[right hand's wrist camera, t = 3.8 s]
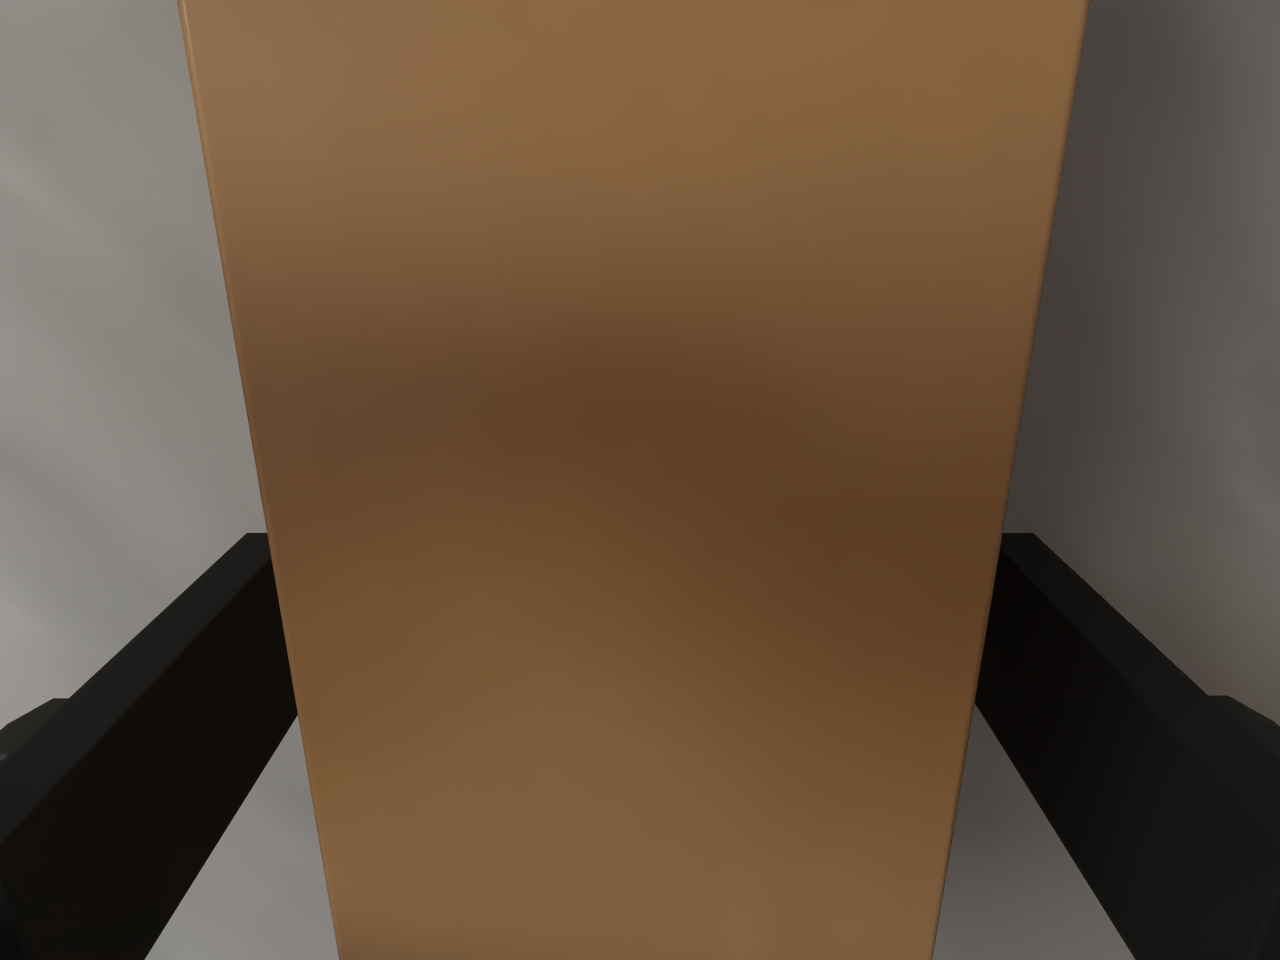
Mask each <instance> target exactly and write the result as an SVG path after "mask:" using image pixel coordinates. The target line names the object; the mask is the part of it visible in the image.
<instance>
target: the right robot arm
mask: <svg viewBox="0 0 1280 960" xmlns="http://www.w3.org/2000/svg"><path fill="white" fill-rule="evenodd" d="M975 704H976V706H977V707H978V709H979V710H980V712H981V714H982V715H983V717H984V718H985V720H986V722H987V723H988V725H989V726H990V728H991V729H992V731H993V733H994V734H995V736H996V737H997V739H998V741H999V742H1000V744H1001V745H1002V747H1003V749H1004V750H1005V752H1006V753H1007V755H1008V757H1009V758H1010V760H1011V761H1012V763H1013V765H1014V766H1015V768H1016V769H1017V771H1018V773H1019V774H1020V776H1021V777H1022V779H1023V781H1024V782H1025V784H1026V785H1027V787H1028V789H1029V790H1030V792H1031V793H1032V795H1033V797H1034V798H1035V800H1036V801H1037V803H1038V805H1039V806H1040V808H1041V809H1042V811H1043V813H1044V814H1045V816H1046V817H1047V819H1048V821H1049V822H1050V824H1051V825H1052V827H1053V829H1054V830H1055V832H1056V833H1057V835H1058V837H1059V838H1060V840H1061V841H1062V843H1063V845H1064V846H1065V848H1066V849H1067V851H1068V852H1069V854H1070V856H1071V857H1072V859H1073V860H1074V862H1075V864H1076V865H1077V867H1078V868H1079V870H1080V872H1081V873H1082V875H1083V876H1084V878H1085V880H1086V881H1087V883H1088V884H1089V886H1090V888H1091V889H1092V891H1093V892H1094V894H1095V896H1096V897H1097V899H1098V900H1099V902H1100V904H1101V905H1102V907H1103V908H1104V910H1105V912H1106V913H1107V915H1108V916H1109V918H1110V920H1111V921H1112V923H1113V924H1114V926H1115V928H1116V929H1117V931H1118V932H1119V934H1120V936H1121V937H1122V939H1123V940H1124V942H1125V944H1126V945H1127V947H1128V948H1129V950H1130V952H1131V953H1132V955H1133V956H1134V958H1135V960H1280V726H1278V725H1277V724H1276V723H1275V722H1274V721H1272V720H1270V719H1268V718H1267V717H1265V716H1263V715H1261V714H1260V713H1258V712H1256V711H1254V710H1252V709H1251V708H1249V707H1247V706H1245V705H1243V704H1242V703H1240V702H1238V701H1236V700H1234V699H1233V698H1231V697H1229V696H1208V695H1207V694H1206V693H1205V692H1204V691H1203V690H1202V689H1200V688H1199V687H1198V686H1197V685H1196V684H1195V683H1194V682H1193V681H1192V680H1191V679H1190V678H1189V677H1188V676H1186V675H1185V674H1184V673H1183V672H1182V671H1181V670H1180V669H1179V668H1178V667H1177V666H1176V665H1175V664H1174V663H1172V662H1171V661H1170V660H1169V659H1168V658H1167V657H1166V656H1165V655H1164V654H1163V653H1162V652H1161V651H1160V650H1158V649H1157V648H1156V647H1155V646H1154V645H1153V644H1152V643H1151V642H1150V641H1149V640H1148V639H1147V638H1146V637H1144V636H1143V635H1142V634H1141V633H1140V632H1139V631H1138V630H1137V629H1136V628H1135V627H1134V626H1133V625H1132V624H1130V623H1129V622H1128V621H1127V620H1126V619H1125V618H1124V617H1123V616H1122V615H1121V614H1120V613H1119V612H1118V611H1116V610H1115V609H1114V608H1113V607H1112V606H1111V605H1110V604H1109V603H1108V602H1107V601H1106V600H1105V599H1104V598H1102V597H1101V596H1100V595H1099V594H1098V593H1097V592H1096V591H1095V590H1094V589H1093V588H1092V587H1091V586H1090V585H1088V584H1087V583H1086V582H1085V581H1084V580H1083V579H1082V578H1081V577H1080V576H1079V575H1078V574H1077V573H1076V572H1074V571H1073V570H1072V569H1071V568H1070V567H1069V566H1068V565H1067V564H1066V563H1065V562H1064V561H1063V560H1062V559H1060V558H1059V557H1058V556H1057V555H1056V554H1055V553H1054V552H1053V551H1052V550H1051V549H1050V548H1049V547H1048V546H1046V545H1045V544H1044V543H1043V542H1042V541H1041V540H1040V539H1039V538H1038V537H1037V536H1036V535H1035V534H1034V533H1002V538H1001V544H1000V550H999V556H998V563H997V569H996V575H995V581H994V587H993V593H992V599H991V605H990V611H989V617H988V623H987V629H986V636H985V642H984V648H983V654H982V660H981V666H980V672H979V678H978V684H977V690H976V696H975ZM297 715H298V712H297V706H296V700H295V694H294V688H293V682H292V676H291V670H290V665H289V659H288V653H287V647H286V641H285V635H284V629H283V623H282V617H281V611H280V605H279V599H278V594H277V588H276V582H275V576H274V570H273V564H272V558H271V552H270V546H269V540H268V534H267V533H246V534H245V535H244V536H243V537H242V538H241V539H240V540H239V541H238V542H237V543H236V544H235V545H233V546H232V547H231V548H230V549H229V550H228V551H227V552H226V553H225V554H224V555H223V556H222V557H221V558H219V559H218V560H217V561H216V562H215V563H214V564H213V565H212V566H211V567H210V568H209V569H208V570H207V571H206V572H204V573H203V574H202V575H201V576H200V577H199V578H198V579H197V580H196V581H195V582H194V583H193V584H192V585H190V586H189V587H188V588H187V589H186V590H185V591H184V592H183V593H182V594H181V595H180V596H179V597H178V598H176V599H175V600H174V601H173V602H172V603H171V604H170V605H169V606H168V607H167V608H166V609H165V610H164V611H162V612H161V613H160V614H159V615H158V616H157V617H156V618H155V619H154V620H153V621H152V622H151V623H150V624H148V625H147V626H146V627H145V628H144V629H143V630H142V631H141V632H140V633H139V634H138V635H137V636H136V637H134V638H133V639H132V640H131V641H130V642H129V643H128V644H127V645H126V646H125V647H124V648H123V649H122V650H120V651H119V652H118V653H117V654H116V655H115V656H114V657H113V658H112V659H111V660H110V661H109V662H108V663H106V664H105V665H104V666H103V667H102V668H101V669H100V670H99V671H98V672H97V673H96V674H95V675H94V676H92V677H91V678H90V679H89V680H88V681H87V682H86V683H85V684H84V685H83V686H82V687H81V688H80V689H78V690H77V691H76V692H75V693H74V694H73V695H72V696H71V697H70V698H53V699H51V700H50V701H48V702H46V703H44V704H43V705H41V706H39V707H37V708H35V709H34V710H32V711H30V712H28V713H26V714H25V715H23V716H21V717H19V718H18V719H16V720H14V721H12V722H10V723H9V724H7V725H6V726H5V727H4V728H2V729H1V730H0V960H145V958H146V956H147V955H148V953H149V952H150V950H151V948H152V947H153V945H154V944H155V942H156V940H157V939H158V937H159V936H160V934H161V932H162V931H163V929H164V928H165V926H166V924H167V923H168V921H169V920H170V918H171V916H172V915H173V913H174V912H175V910H176V908H177V907H178V905H179V904H180V902H181V900H182V899H183V897H184V896H185V894H186V892H187V891H188V889H189V888H190V886H191V884H192V883H193V881H194V880H195V878H196V876H197V875H198V873H199V872H200V870H201V868H202V867H203V865H204V864H205V862H206V860H207V859H208V857H209V856H210V854H211V852H212V851H213V849H214V848H215V846H216V844H217V843H218V841H219V840H220V838H221V836H222V835H223V833H224V832H225V830H226V829H227V827H228V825H229V824H230V822H231V821H232V819H233V817H234V816H235V814H236V813H237V811H238V809H239V808H240V806H241V805H242V803H243V801H244V800H245V798H246V797H247V795H248V793H249V792H250V790H251V789H252V787H253V785H254V784H255V782H256V781H257V779H258V777H259V776H260V774H261V773H262V771H263V769H264V768H265V766H266V765H267V763H268V761H269V760H270V758H271V757H272V755H273V753H274V752H275V750H276V749H277V747H278V745H279V744H280V742H281V741H282V739H283V737H284V736H285V734H286V733H287V731H288V729H289V728H290V726H291V725H292V723H293V721H294V720H295V718H296V717H297Z"/></svg>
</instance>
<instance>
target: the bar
mask: <svg viewBox="0 0 1280 960" xmlns="http://www.w3.org/2000/svg"><path fill="white" fill-rule="evenodd" d="M177 2H178V8H179V14H180V20H181V25H182V31H183V37H184V43H185V49H186V55H187V61H188V67H189V73H190V79H191V85H192V91H193V96H194V102H195V108H196V114H197V120H198V126H199V132H200V138H201V144H202V150H203V156H204V162H205V167H206V173H207V179H208V185H209V191H210V197H211V203H212V209H213V215H214V221H215V227H216V233H217V239H218V244H219V250H220V256H221V262H222V268H223V274H224V280H225V286H226V292H227V298H228V304H229V310H230V315H231V321H232V327H233V333H234V339H235V345H236V351H237V357H238V363H239V369H240V375H241V381H242V386H243V392H244V398H245V404H246V410H247V416H248V422H249V428H250V434H251V440H252V446H253V452H254V457H255V463H256V469H257V475H258V481H259V487H260V493H261V499H262V505H263V511H264V517H265V523H266V528H267V534H268V540H269V546H270V552H271V558H272V564H273V570H274V576H275V582H276V588H277V594H278V599H279V605H280V611H281V617H282V623H283V629H284V635H285V641H286V647H287V653H288V659H289V665H290V670H291V676H292V682H293V688H294V694H295V700H296V706H297V712H298V718H299V724H300V730H301V736H302V742H303V747H304V753H305V759H306V765H307V771H308V777H309V783H310V789H311V795H312V801H313V807H314V813H315V818H316V824H317V830H318V836H319V842H320V848H321V854H322V860H323V866H324V872H325V878H326V884H327V889H328V895H329V901H330V907H331V913H332V919H333V925H334V931H335V937H336V943H337V949H338V955H339V960H932V958H933V952H934V946H935V940H936V934H937V928H938V922H939V916H940V910H941V903H942V897H943V891H944V885H945V879H946V873H947V867H948V861H949V855H950V849H951V843H952V837H953V830H954V824H955V818H956V812H957V806H958V800H959V794H960V788H961V782H962V776H963V770H964V763H965V757H966V751H967V745H968V739H969V733H970V727H971V721H972V715H973V709H974V703H975V696H976V690H977V684H978V678H979V672H980V666H981V660H982V654H983V648H984V642H985V636H986V629H987V623H988V617H989V611H990V605H991V599H992V593H993V587H994V581H995V575H996V569H997V563H998V556H999V550H1000V544H1001V538H1002V532H1003V526H1004V520H1005V514H1006V508H1007V502H1008V496H1009V489H1010V483H1011V477H1012V471H1013V465H1014V459H1015V453H1016V447H1017V441H1018V435H1019V429H1020V422H1021V416H1022V410H1023V404H1024V398H1025V392H1026V386H1027V380H1028V374H1029V368H1030V362H1031V355H1032V349H1033V343H1034V337H1035V331H1036V325H1037V319H1038V313H1039V307H1040V301H1041V295H1042V288H1043V282H1044V276H1045V270H1046V264H1047V258H1048V252H1049V246H1050V240H1051V234H1052V228H1053V222H1054V215H1055V209H1056V203H1057V197H1058V191H1059V185H1060V179H1061V173H1062V167H1063V161H1064V155H1065V148H1066V142H1067V136H1068V130H1069V124H1070V118H1071V112H1072V106H1073V100H1074V94H1075V88H1076V81H1077V75H1078V69H1079V63H1080V57H1081V51H1082V45H1083V39H1084V33H1085V27H1086V21H1087V14H1088V8H1089V2H1090V0H177Z"/></svg>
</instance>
